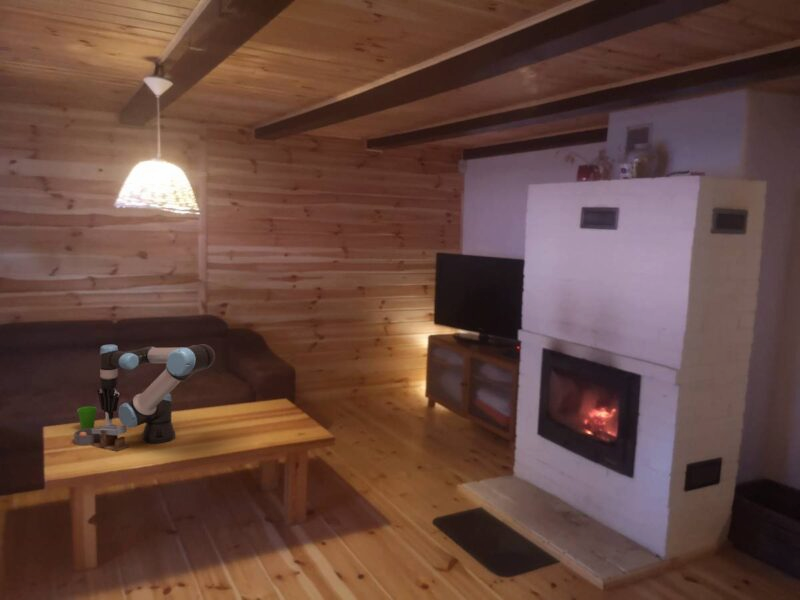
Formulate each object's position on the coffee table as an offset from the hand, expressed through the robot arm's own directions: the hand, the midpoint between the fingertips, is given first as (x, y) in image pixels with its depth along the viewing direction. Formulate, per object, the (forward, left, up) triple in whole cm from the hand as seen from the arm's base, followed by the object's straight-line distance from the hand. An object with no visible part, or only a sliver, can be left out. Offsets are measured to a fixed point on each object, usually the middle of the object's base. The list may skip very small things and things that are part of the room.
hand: (108, 424), depth 303 cm
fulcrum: (-7, +7, -7) cm, 12 cm away
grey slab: (-7, +3, -1) cm, 8 cm away
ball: (+10, +7, -5) cm, 13 cm away
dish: (+7, +7, -7) cm, 12 cm away
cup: (+19, -4, -8) cm, 21 cm away
